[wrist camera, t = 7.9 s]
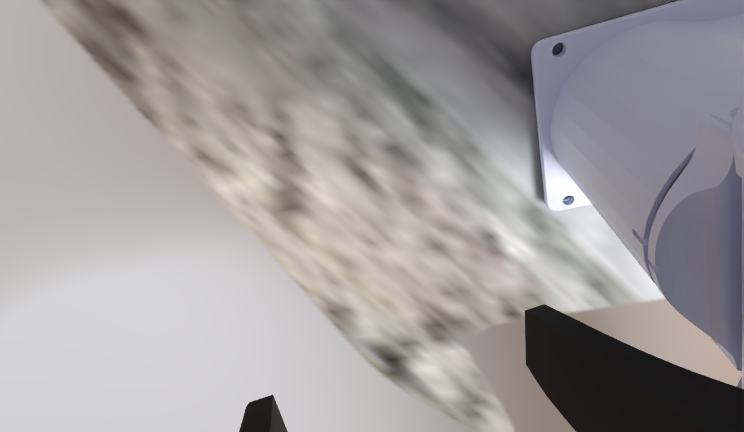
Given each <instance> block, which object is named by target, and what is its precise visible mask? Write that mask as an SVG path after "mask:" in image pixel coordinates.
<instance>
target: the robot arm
mask: <svg viewBox="0 0 744 432" xmlns="http://www.w3.org/2000/svg"><path fill="white" fill-rule="evenodd" d="M558 43H562V45H563V49H562V51H561V52H560V53H559V54H558V55H553V53H552V50H553V47H554V46H555V45H556V44H558ZM531 64H532V74H533V85H534V95H535V106H536V116H537V127H538V137H539V148H540V158H541V169H542V179H543V190H544V200H545V204H546V206H547V207H548V208H549V209H550V210H552V211H560V210H565V209H570V208H575V207H580V206H585V205H589V204H592V205H593V206H594V207H595V209H596V210H597V211H598V212H599V214H600V215H601V216H602V217H603V219H604V220H605V221H606V222H607V224H608V225H609V226H610V228H611V229H612V230H613V231H614V233H615V234H616V235H617V236H618V238H619V239H620V240H621V241H622V243H623V244H624V245H625V246H626V248H627V249H628V250H629V251H630V253H631V254H632V255H633V256H634V258H635V259H636V260H637V261H638V263H639V264H640V265H641V267H642V268H643V269H644V270H645V272H646V273H647V274H648V275H649V277H650V278H651V279H652V280H653V282H654V283H655V284H656V285H657V287H658V288H659V290H660V291H661V293H662V294H663V295H664V296H665V298H666V299H667V300H668V301H669V302H670V304H671V305H672V306H673V307H674V308H675V309H676V310H677V311H678V312H679V313H680V314H682V315H683V316H684V317H685V318H686V319H688V320H689V321H690V322H692V323H693V324H694V325H695V326H697V327H698V328H700V329H701V330H702V331H703V332H705V333H706V334H707V335H709V336H710V337H711V338H712V340H713V341H714V342H715V343H716V345H717V346H718V347H719V348H720V349H721V351H722V352H723V353H724V354H725V355H726V357H727V358H728V359H729V360H730V361H731V363H732V364H733V365H734V366H735V367H736V369H737V370H739V371H742V377H741V380H740V381H739V383H738V386H737V387H735V386H732V385H729V384H726V383H723V382H720V381H717V380H715V379H712V378H709V377H706V376H704V375H701V374H698V373H695V372H692V371H690V370H687V369H685V368H682V367H679V366H677V365H674V364H672V363H669V362H667V361H665V360H662V359H660V358H657V357H655V356H653V355H650V354H647V353H645V352H643V351H641V350H639V349H637V348H634V347H632V346H630V345H628V344H625V343H623V342H621V341H619V340H617V339H615V338H613V337H610V336H608V335H606V334H604V333H602V332H600V331H598V330H596V329H594V328H592V327H590V326H587V325H586V324H584V323H582V322H580V321H577V320H575V319H573V318H571V317H569V316H567V315H565V314H563V313H561V312H559V311H557V310H555V309H553V308H551V307H549V306H547V305H541V306H538V307H535V308H532V309H529V310H526V311H525V336H526V365H527V366H528V368H529V369H530V371H531V373H532V374H533V376H534V378H535V379H536V381H537V382H538V384H539V385H540V387H541V388H542V390H543V391H544V392H545V394H546V396H547V397H548V398H549V399H550V401H551V402H552V403H553V404H554V405H555V407H556V408H557V409H558V410H559V412H560V413H561V414H562V415H563V416H564V418H565V419H566V420H567V421H568V422H569V424H570V425H571V426H572V427H573V428H574V429H575V431H576V432H744V0H679V1H675V2H672V3H668V4H665V5H661V6H658V7H654V8H651V9H647V10H644V11H640V12H637V13H633V14H630V15H626V16H623V17H619V18H616V19H612V20H608V21H605V22H601V23H598V24H594V25H591V26H587V27H584V28H580V29H577V30H573V31H570V32H566V33H563V34H559V35H556V36H552V37H549V38H545V39H542V40H540V41H538V42H537V43H536V44H535V45H534V46H533V48H532V50H531ZM566 196H571V198H570V199H569V200H568V201H563V199H564V198H565V197H566ZM239 432H287V429H286V427H285V424H284V422H283V419H282V417H281V414H280V411H279V409H278V406H277V404H276V401H275V399H274V396H273V395H271V396H268V397H265V398H262V399H259V400H256V401H253V402H250V403H249V404H248V405H247V407H246V410H245V413H244V417H243V421H242V424H241V428H240V431H239Z"/></svg>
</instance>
